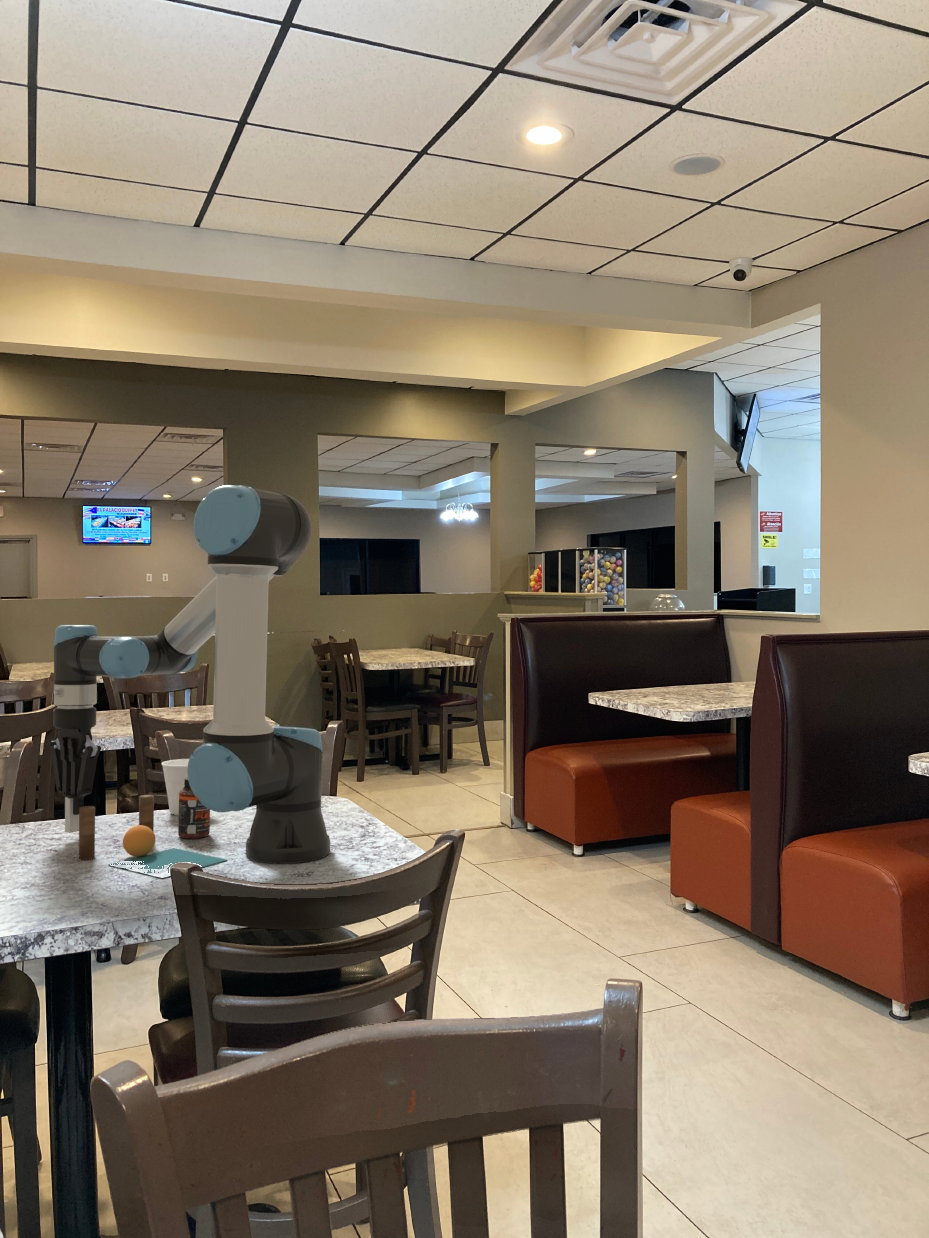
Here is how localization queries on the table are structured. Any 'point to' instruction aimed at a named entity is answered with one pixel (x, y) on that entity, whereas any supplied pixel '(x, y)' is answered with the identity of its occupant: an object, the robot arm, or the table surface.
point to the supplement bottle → (192, 815)
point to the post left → (86, 832)
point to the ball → (139, 841)
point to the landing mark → (173, 859)
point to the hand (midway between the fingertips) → (73, 830)
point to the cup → (175, 781)
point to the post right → (146, 811)
